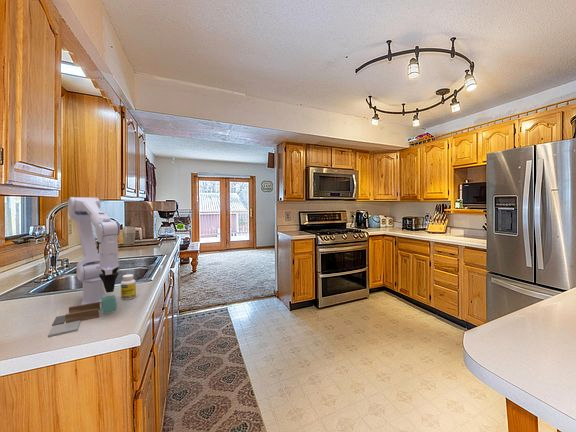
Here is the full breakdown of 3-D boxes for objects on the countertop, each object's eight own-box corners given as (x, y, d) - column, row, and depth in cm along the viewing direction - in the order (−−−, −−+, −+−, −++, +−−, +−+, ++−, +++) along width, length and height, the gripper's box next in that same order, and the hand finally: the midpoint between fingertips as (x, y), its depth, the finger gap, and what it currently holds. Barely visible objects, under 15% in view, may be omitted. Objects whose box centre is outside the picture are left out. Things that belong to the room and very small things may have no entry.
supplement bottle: (119, 301, 105) (119, 278, 104) (122, 296, 109) (121, 274, 109) (134, 299, 107) (134, 276, 106) (136, 294, 112) (136, 273, 111)
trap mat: (56, 317, 89) (56, 316, 89) (67, 315, 91) (67, 314, 91) (51, 326, 83) (51, 324, 83) (63, 323, 85) (63, 322, 85)
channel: (69, 314, 92) (69, 306, 91) (100, 309, 97) (99, 301, 96) (65, 323, 85) (65, 315, 85) (98, 317, 90) (98, 309, 90)
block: (102, 310, 96) (101, 297, 96) (114, 307, 98) (114, 294, 98) (103, 313, 93) (102, 300, 93) (116, 310, 96) (115, 297, 95)
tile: (53, 327, 82) (52, 325, 82) (80, 322, 86) (80, 320, 86) (47, 337, 77) (47, 335, 77) (77, 330, 81) (77, 328, 80)
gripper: (96, 251, 98) (98, 285, 98) (93, 258, 86) (95, 297, 86) (118, 249, 102) (119, 282, 102) (118, 256, 90) (119, 293, 90)
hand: (110, 288), depth 95 cm, fingers open, 7 cm apart
